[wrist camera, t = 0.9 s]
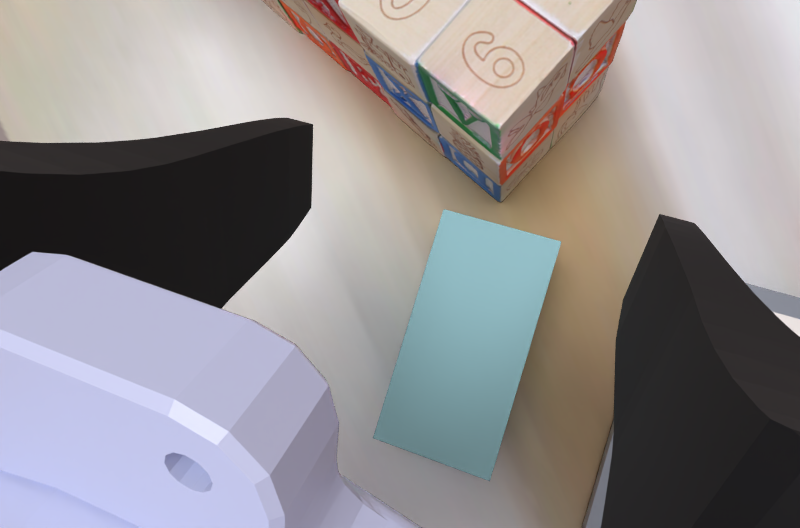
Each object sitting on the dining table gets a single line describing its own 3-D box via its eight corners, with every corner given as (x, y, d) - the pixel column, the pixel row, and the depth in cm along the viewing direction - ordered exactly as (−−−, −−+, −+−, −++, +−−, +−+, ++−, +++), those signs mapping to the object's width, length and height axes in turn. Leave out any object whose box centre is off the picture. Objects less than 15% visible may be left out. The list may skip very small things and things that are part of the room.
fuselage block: (493, 448, 23) (489, 481, 19) (400, 415, 24) (372, 438, 19) (550, 258, 24) (561, 241, 19) (456, 231, 25) (443, 209, 20)
